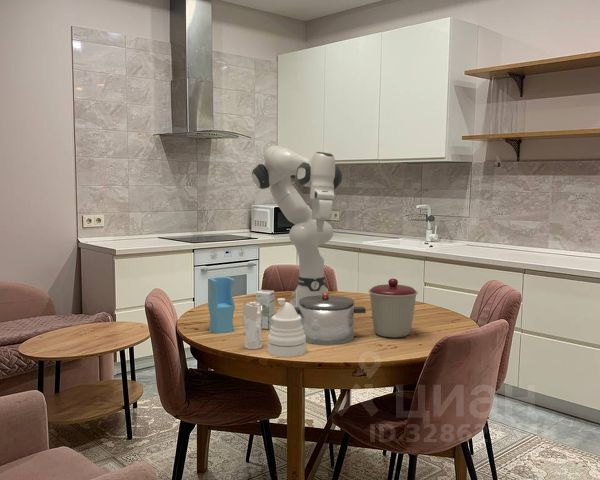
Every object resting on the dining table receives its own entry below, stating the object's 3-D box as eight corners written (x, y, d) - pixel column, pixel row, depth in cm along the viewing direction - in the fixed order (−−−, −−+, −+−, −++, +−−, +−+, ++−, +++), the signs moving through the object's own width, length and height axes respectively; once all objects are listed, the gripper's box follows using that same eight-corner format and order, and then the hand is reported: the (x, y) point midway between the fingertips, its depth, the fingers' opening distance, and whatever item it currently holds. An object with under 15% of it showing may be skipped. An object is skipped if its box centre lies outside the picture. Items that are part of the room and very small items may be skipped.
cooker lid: (297, 298, 224) (297, 290, 223) (349, 297, 225) (349, 289, 225) (301, 309, 204) (301, 301, 203) (358, 309, 205) (358, 300, 205)
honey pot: (275, 359, 189) (275, 303, 188) (262, 348, 201) (261, 296, 199) (312, 354, 194) (312, 300, 193) (296, 344, 206) (296, 293, 204)
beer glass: (243, 344, 206) (242, 302, 205) (263, 343, 207) (263, 301, 205) (243, 349, 199) (242, 306, 198) (263, 349, 200) (263, 305, 198)
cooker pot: (286, 329, 226) (286, 298, 225) (358, 328, 228) (359, 298, 227) (289, 345, 205) (289, 311, 204) (369, 344, 207) (369, 310, 206)
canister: (365, 328, 229) (366, 274, 227) (412, 328, 228) (413, 274, 226) (369, 340, 211) (370, 282, 209) (420, 341, 211) (422, 283, 208)
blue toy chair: (215, 333, 220) (214, 280, 218) (208, 329, 227) (207, 277, 225) (235, 331, 224) (234, 279, 222) (227, 326, 231) (227, 276, 229)
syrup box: (275, 326, 231) (274, 290, 230) (269, 330, 226) (269, 292, 224) (261, 325, 233) (261, 289, 232) (255, 328, 228) (255, 291, 226)
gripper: (308, 195, 231) (306, 231, 231) (318, 193, 211) (316, 232, 211) (324, 196, 232) (322, 232, 232) (335, 194, 212) (333, 233, 212)
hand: (319, 232), depth 221 cm, fingers closed
